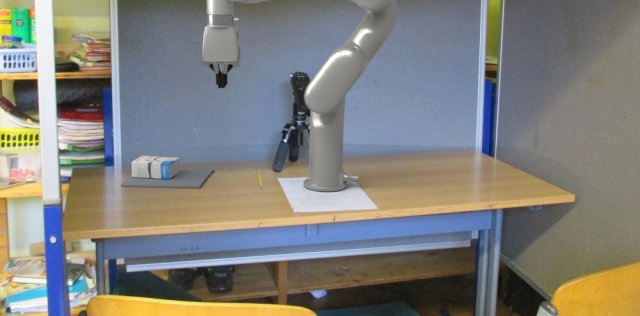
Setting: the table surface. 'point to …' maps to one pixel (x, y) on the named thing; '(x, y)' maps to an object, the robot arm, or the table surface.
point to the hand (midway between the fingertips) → (221, 87)
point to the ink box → (155, 167)
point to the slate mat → (173, 180)
